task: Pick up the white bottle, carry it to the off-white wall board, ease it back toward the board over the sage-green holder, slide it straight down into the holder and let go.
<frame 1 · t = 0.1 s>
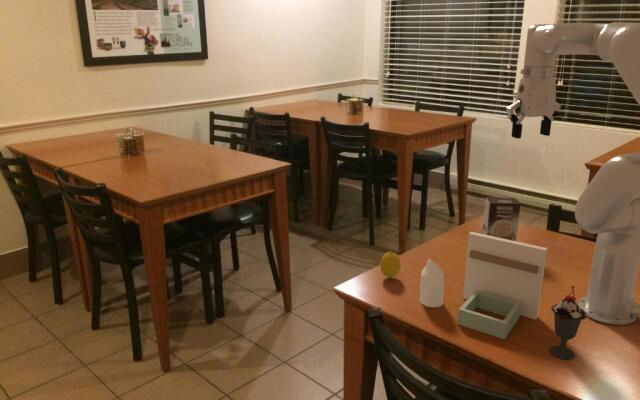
hand: (530, 136, 145), 37 cm above the table, tool pointing down, fingers open, 9 cm apart
wall holder: (488, 321, 124), on the table
white bottle: (430, 303, 133), on the table
coffee box: (497, 249, 164), on the table
lemon: (389, 278, 146), on the table
sundae: (561, 353, 112), on the table
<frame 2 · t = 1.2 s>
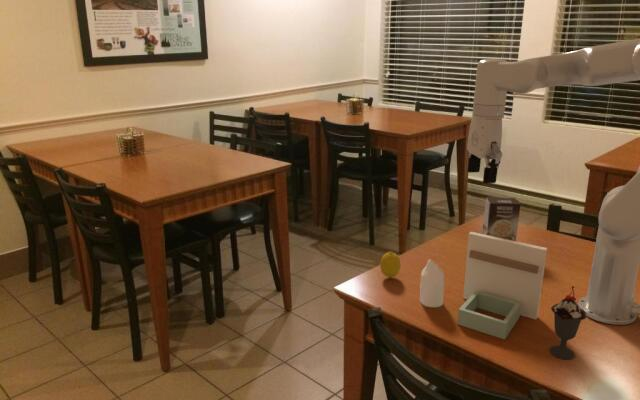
hand: (481, 177, 135), 29 cm above the table, tool pointing down, fingers open, 9 cm apart
nothing on the table moved.
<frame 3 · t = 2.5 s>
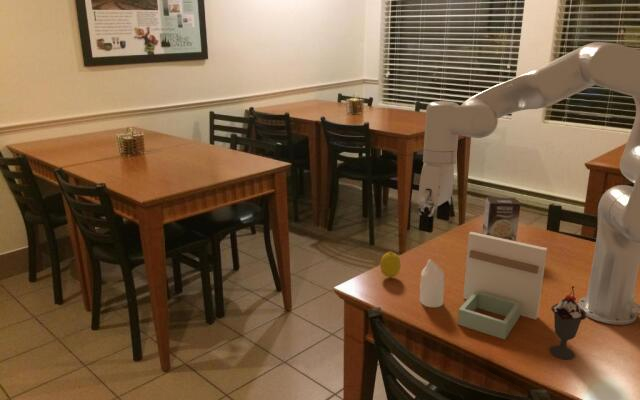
hand: (434, 225, 126), 21 cm above the table, tool pointing down, fingers open, 9 cm apart
nothing on the table moved.
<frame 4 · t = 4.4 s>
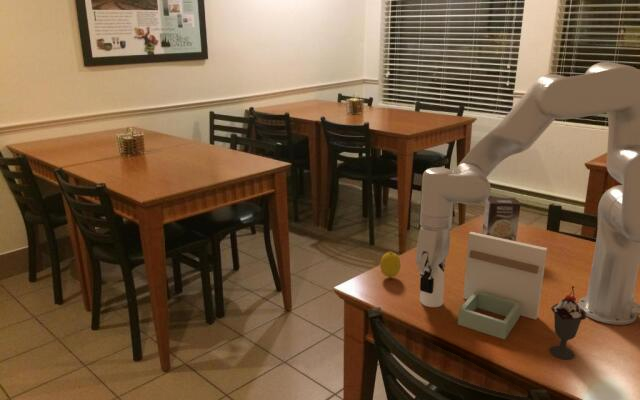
hand: (431, 286, 131), 5 cm above the table, tool pointing down, fingers closed on white bottle, 5 cm apart
white bottle: (430, 302, 133), on the table, touching gripper
everything else where it was.
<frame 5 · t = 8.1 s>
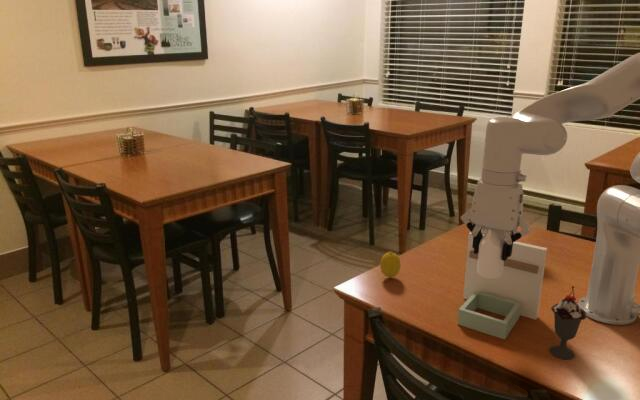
hand: (491, 254, 116), 18 cm above the table, tool pointing down, fingers closed on white bottle, 5 cm apart
white bottle: (488, 273, 118), point 14 cm above the table, touching gripper
everything else where it was.
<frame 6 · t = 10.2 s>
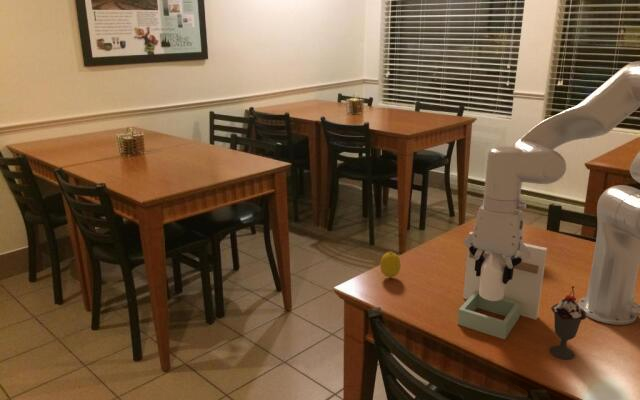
hand: (492, 277, 120), 12 cm above the table, tool pointing down, fingers closed on white bottle, 5 cm apart
white bottle: (490, 295, 122), point 7 cm above the table, touching gripper
everything else where it was.
when the fingers open (5 cm above the table, at t = 12.0 s): white bottle stays where it is, resting in wall holder.
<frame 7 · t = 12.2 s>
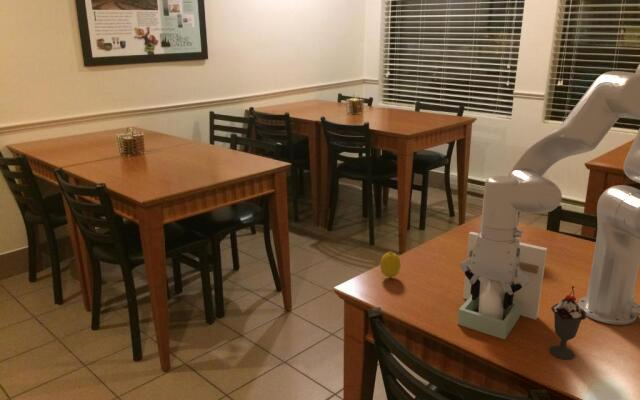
hand: (490, 301, 122), 5 cm above the table, tool pointing down, fingers open, 6 cm apart
white bottle: (489, 322, 124), resting in wall holder
everything else where it was.
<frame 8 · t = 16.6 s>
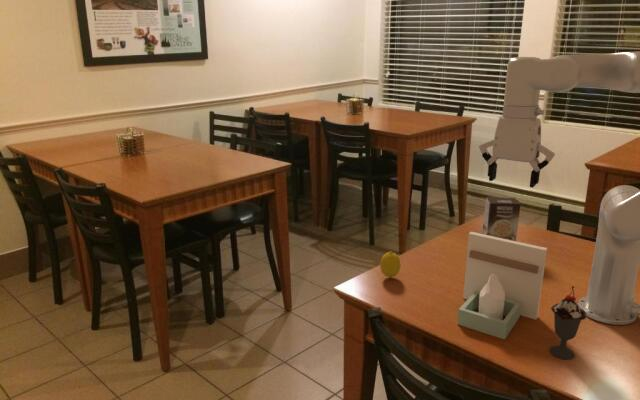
hand: (512, 182, 127), 30 cm above the table, tool pointing down, fingers open, 9 cm apart
nothing on the table moved.
at the end: white bottle 0.2 cm off-centre on the wall holder, point 0.0 cm above the wall holder's base; white bottle resting in wall holder; the gripper is holding nothing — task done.
